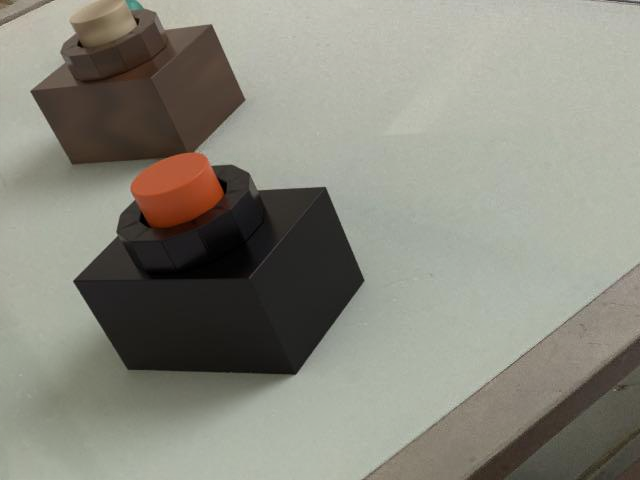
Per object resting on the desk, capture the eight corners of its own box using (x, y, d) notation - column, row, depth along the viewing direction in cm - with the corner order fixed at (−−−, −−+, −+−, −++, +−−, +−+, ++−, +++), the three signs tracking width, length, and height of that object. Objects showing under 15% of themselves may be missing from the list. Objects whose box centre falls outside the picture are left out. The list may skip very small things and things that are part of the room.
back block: (71, 165, 85) (15, 66, 80) (131, 110, 90) (81, 14, 84) (189, 157, 80) (137, 51, 75) (246, 100, 85) (200, -3, 80)
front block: (127, 370, 62) (52, 250, 57) (204, 282, 67) (141, 164, 62) (296, 375, 57) (231, 245, 52) (365, 281, 62) (312, 153, 57)
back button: (72, 53, 80) (57, 25, 78) (105, 27, 82) (91, -1, 81) (116, 48, 78) (102, 19, 77) (148, 21, 80) (135, -7, 79)
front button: (133, 232, 57) (113, 197, 55) (176, 188, 59) (158, 154, 58) (197, 230, 55) (179, 194, 54) (239, 185, 58) (222, 149, 56)
